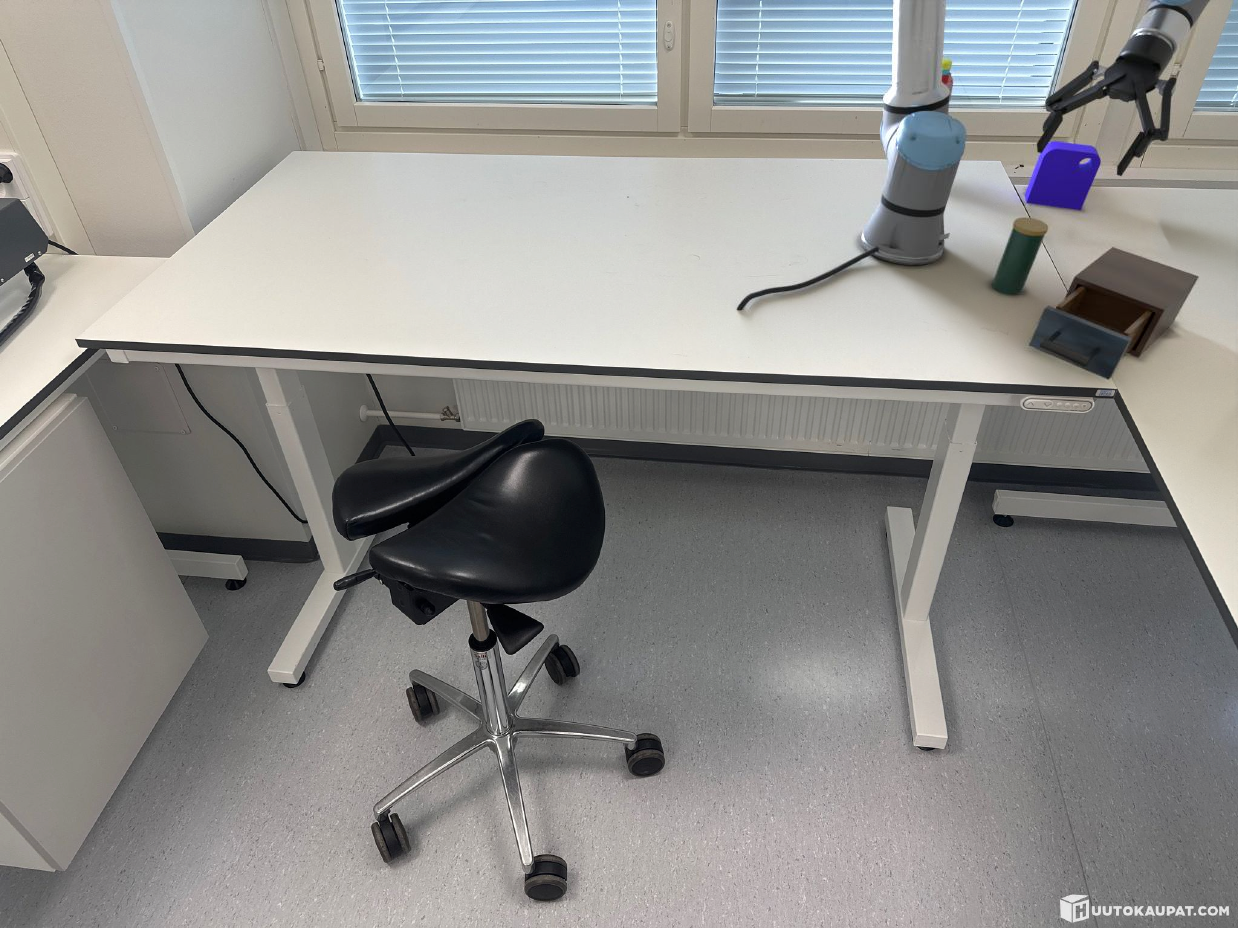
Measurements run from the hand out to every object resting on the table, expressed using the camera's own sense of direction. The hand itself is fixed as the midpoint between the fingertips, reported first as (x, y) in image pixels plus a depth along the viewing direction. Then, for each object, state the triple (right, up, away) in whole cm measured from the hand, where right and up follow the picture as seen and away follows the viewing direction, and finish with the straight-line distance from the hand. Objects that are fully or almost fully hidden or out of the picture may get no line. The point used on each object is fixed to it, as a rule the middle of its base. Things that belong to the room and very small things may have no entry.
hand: (1078, 160), depth 136 cm
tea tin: (-8, -20, +8) cm, 23 cm away
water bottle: (-13, +13, +45) cm, 49 cm away
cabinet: (+6, -28, -1) cm, 28 cm away
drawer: (-5, -34, -9) cm, 35 cm away
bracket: (+17, +9, +41) cm, 46 cm away
